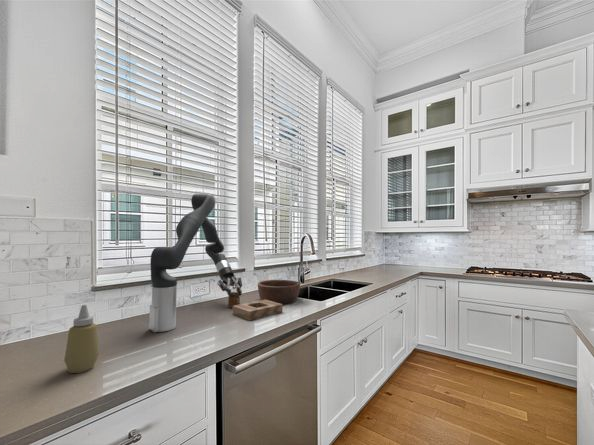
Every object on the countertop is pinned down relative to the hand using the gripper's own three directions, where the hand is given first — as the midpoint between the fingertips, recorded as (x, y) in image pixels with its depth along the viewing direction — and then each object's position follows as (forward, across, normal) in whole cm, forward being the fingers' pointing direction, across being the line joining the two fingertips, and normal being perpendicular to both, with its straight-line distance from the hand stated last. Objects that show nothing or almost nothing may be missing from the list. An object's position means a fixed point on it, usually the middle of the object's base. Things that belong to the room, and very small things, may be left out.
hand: (236, 295), depth 152 cm
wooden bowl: (+6, +28, +3) cm, 29 cm away
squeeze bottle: (+25, -70, -15) cm, 76 cm away
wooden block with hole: (+16, +2, -7) cm, 18 cm away
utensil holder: (+3, 0, +6) cm, 6 cm away
